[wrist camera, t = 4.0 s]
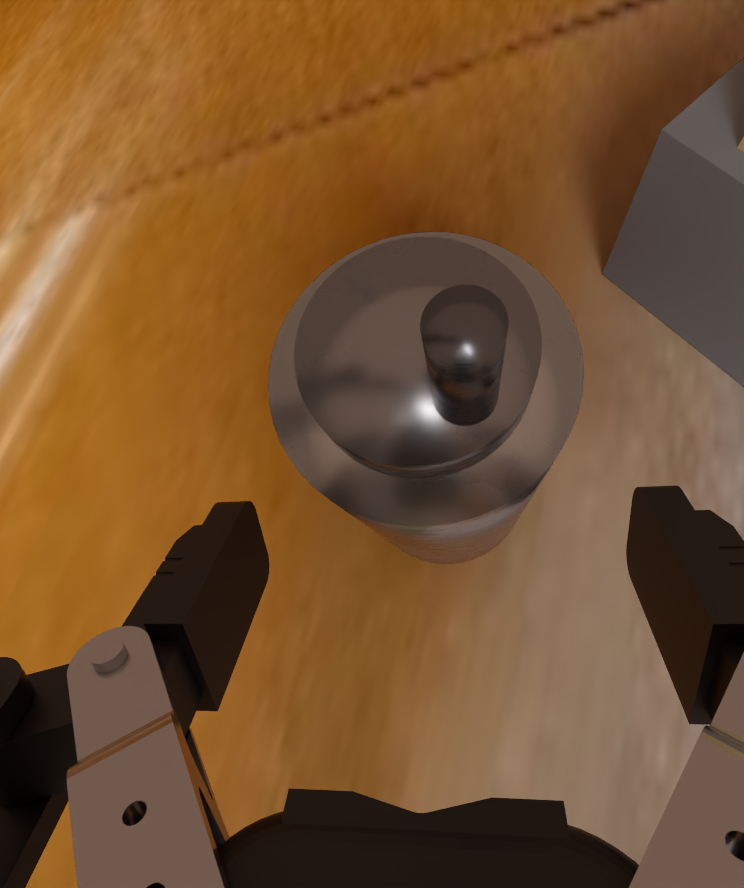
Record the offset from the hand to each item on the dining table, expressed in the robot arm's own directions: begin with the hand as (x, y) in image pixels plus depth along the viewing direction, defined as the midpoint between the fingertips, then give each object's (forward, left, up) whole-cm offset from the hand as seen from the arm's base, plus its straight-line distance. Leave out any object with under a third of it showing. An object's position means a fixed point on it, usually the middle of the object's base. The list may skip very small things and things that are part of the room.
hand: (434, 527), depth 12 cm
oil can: (-2, +2, -8) cm, 8 cm away
